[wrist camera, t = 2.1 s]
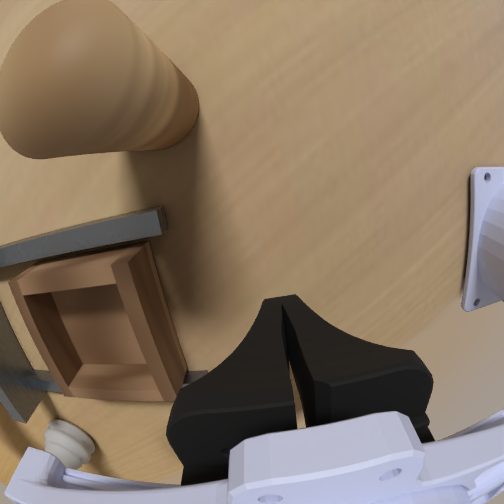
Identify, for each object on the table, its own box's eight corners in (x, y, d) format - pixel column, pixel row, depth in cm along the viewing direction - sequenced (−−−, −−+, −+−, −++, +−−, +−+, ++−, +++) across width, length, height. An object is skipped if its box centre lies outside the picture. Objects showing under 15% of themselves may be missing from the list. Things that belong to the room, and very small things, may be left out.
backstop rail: (158, 180, 12) (126, 192, 9) (215, 396, 16) (210, 443, 13) (-34, 239, 13) (-69, 257, 9) (34, 390, 17) (13, 419, 13)
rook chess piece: (107, 447, 19) (79, 525, 11) (79, 452, 19) (51, 519, 12) (66, 412, 17) (25, 490, 10) (42, 420, 18) (5, 486, 10)
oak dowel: (192, 61, 10) (127, -29, 3) (205, 140, 12) (141, 128, 5) (115, 83, 11) (-4, 41, 4) (125, 158, 12) (3, 180, 5)
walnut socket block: (148, 241, 13) (127, 262, 10) (187, 366, 15) (178, 401, 13) (36, 262, 13) (8, 282, 11) (81, 368, 16) (64, 396, 13)
